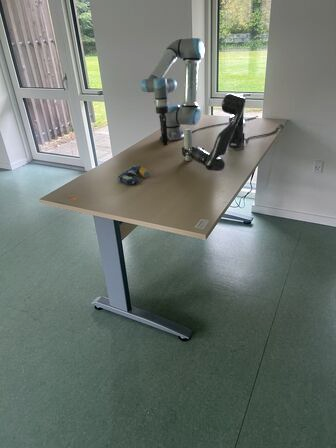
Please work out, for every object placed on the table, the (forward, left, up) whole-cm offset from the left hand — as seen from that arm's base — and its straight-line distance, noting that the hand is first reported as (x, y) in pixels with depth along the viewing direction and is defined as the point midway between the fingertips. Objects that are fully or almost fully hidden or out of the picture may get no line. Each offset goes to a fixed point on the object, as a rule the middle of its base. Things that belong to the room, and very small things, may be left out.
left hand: (164, 143), depth 212 cm
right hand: (-9, +12, -2) cm, 15 cm away
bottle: (-9, +14, -8) cm, 19 cm away
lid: (0, 0, +4) cm, 4 cm away
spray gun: (+31, +20, -8) cm, 37 cm away
